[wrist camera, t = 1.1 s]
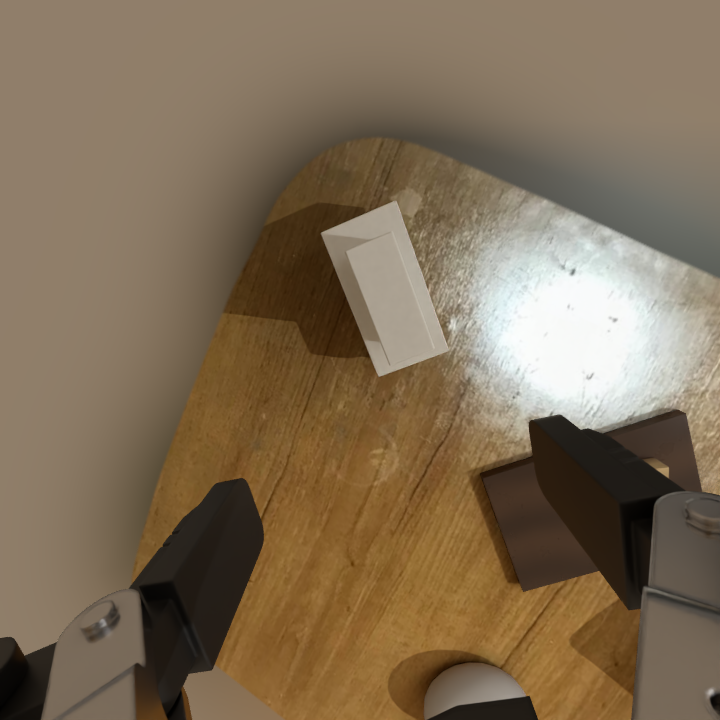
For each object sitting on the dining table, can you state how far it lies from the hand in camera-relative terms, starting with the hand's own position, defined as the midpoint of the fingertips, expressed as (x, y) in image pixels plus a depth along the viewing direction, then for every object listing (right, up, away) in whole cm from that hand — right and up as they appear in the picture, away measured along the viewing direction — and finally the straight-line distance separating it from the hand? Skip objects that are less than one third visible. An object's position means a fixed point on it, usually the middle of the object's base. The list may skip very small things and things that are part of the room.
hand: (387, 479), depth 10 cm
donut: (+10, -30, +26) cm, 41 cm away
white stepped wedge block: (+1, +9, +17) cm, 19 cm away
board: (+19, -9, +21) cm, 29 cm away
